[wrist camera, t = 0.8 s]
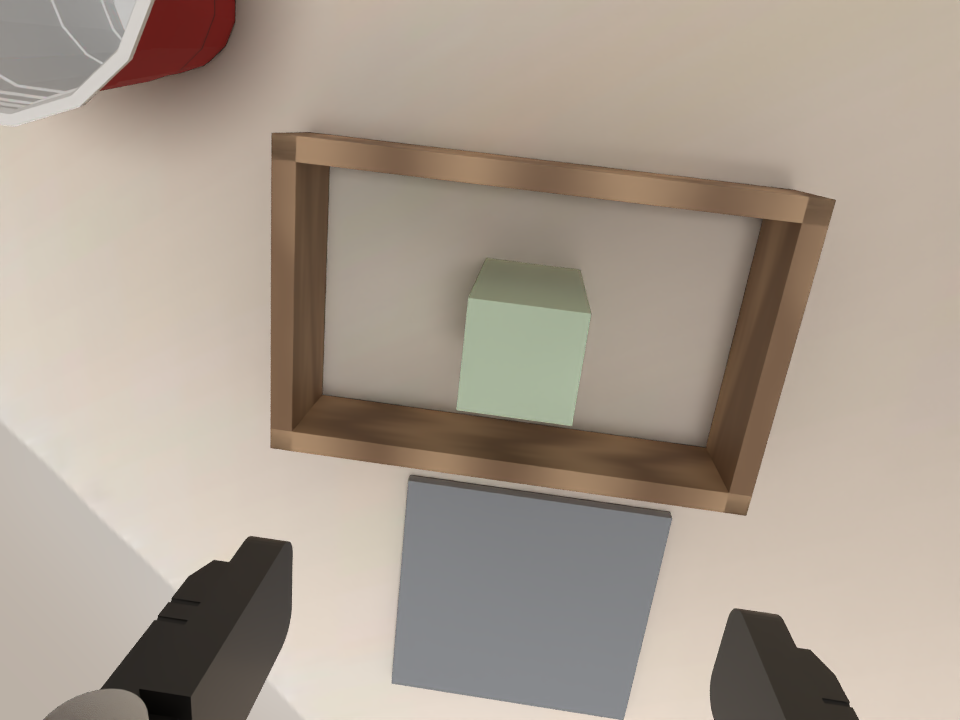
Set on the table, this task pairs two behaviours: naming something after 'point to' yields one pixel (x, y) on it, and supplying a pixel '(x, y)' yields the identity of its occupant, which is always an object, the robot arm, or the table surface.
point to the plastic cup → (99, 48)
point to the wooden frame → (516, 445)
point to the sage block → (524, 342)
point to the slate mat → (525, 595)
